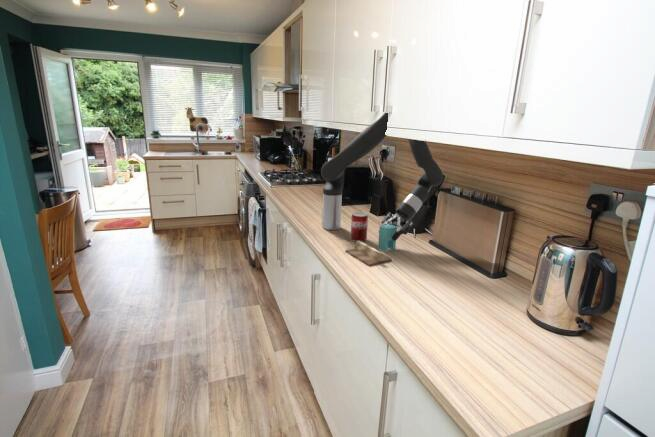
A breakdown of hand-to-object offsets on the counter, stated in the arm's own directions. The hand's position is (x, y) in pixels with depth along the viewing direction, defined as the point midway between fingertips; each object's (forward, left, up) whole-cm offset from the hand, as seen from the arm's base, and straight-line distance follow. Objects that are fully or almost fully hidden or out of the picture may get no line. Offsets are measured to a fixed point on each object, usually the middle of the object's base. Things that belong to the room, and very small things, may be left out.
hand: (386, 236), depth 145 cm
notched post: (0, +1, -6) cm, 6 cm away
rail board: (+3, -11, -6) cm, 13 cm away
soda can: (-15, -3, -6) cm, 16 cm away
